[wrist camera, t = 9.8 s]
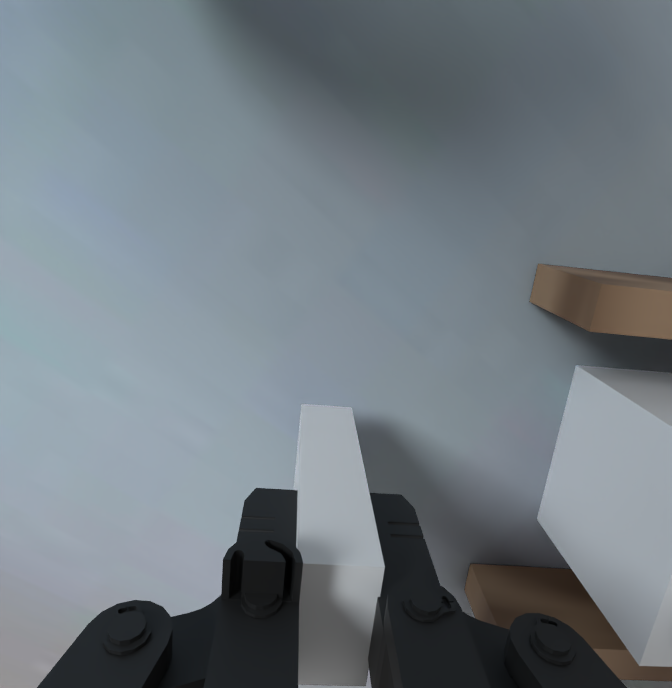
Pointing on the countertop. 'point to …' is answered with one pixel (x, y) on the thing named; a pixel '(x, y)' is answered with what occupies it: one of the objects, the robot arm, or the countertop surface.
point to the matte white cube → (617, 501)
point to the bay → (562, 584)
